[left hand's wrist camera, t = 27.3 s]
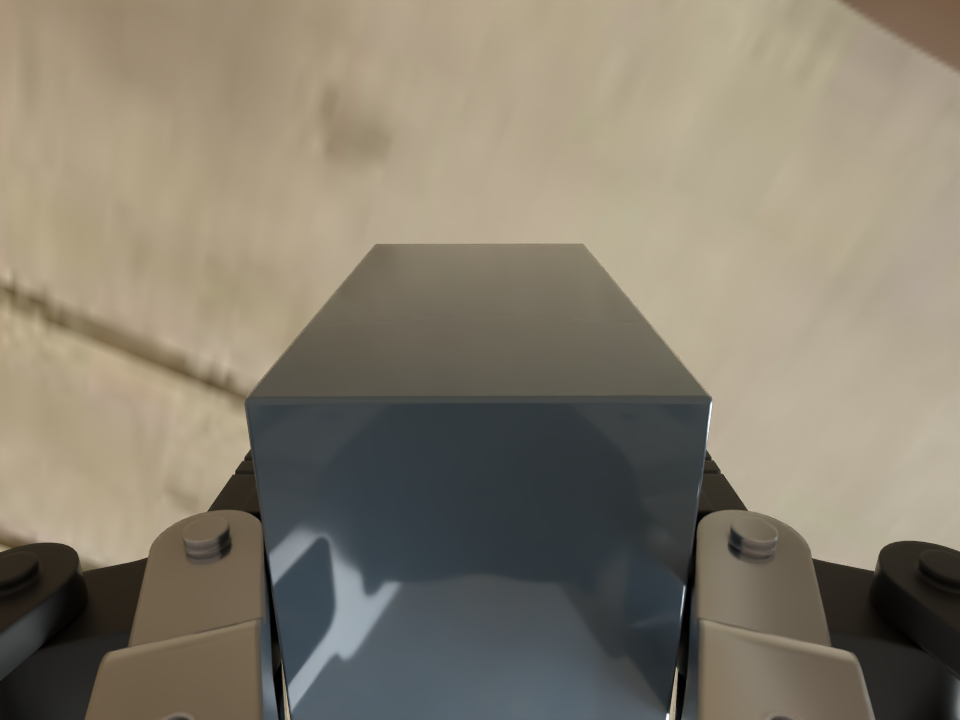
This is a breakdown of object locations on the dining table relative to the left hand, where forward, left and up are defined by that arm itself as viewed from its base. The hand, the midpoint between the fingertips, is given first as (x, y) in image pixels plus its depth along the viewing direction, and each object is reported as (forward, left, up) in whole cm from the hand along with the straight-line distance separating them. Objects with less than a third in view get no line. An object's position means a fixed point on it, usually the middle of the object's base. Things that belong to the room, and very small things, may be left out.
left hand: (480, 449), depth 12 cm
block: (0, 0, -4) cm, 4 cm away
